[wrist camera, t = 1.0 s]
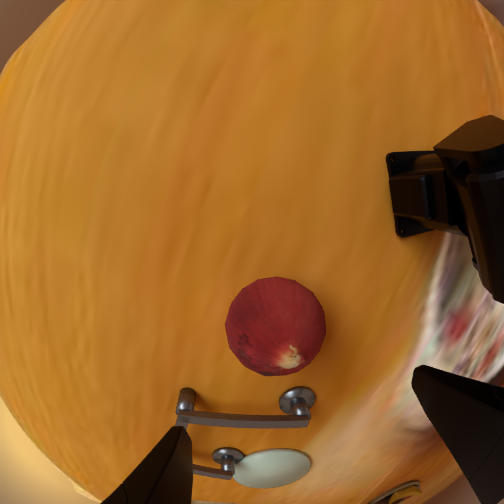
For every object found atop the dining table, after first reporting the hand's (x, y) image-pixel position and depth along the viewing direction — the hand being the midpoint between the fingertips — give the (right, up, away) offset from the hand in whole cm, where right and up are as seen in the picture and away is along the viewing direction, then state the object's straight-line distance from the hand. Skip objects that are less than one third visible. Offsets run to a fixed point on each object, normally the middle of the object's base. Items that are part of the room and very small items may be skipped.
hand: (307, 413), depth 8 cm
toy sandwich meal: (+25, -44, +23) cm, 55 cm away
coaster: (0, -19, +15) cm, 24 cm away
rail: (-3, -11, +13) cm, 18 cm away
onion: (-1, +2, +11) cm, 11 cm away
